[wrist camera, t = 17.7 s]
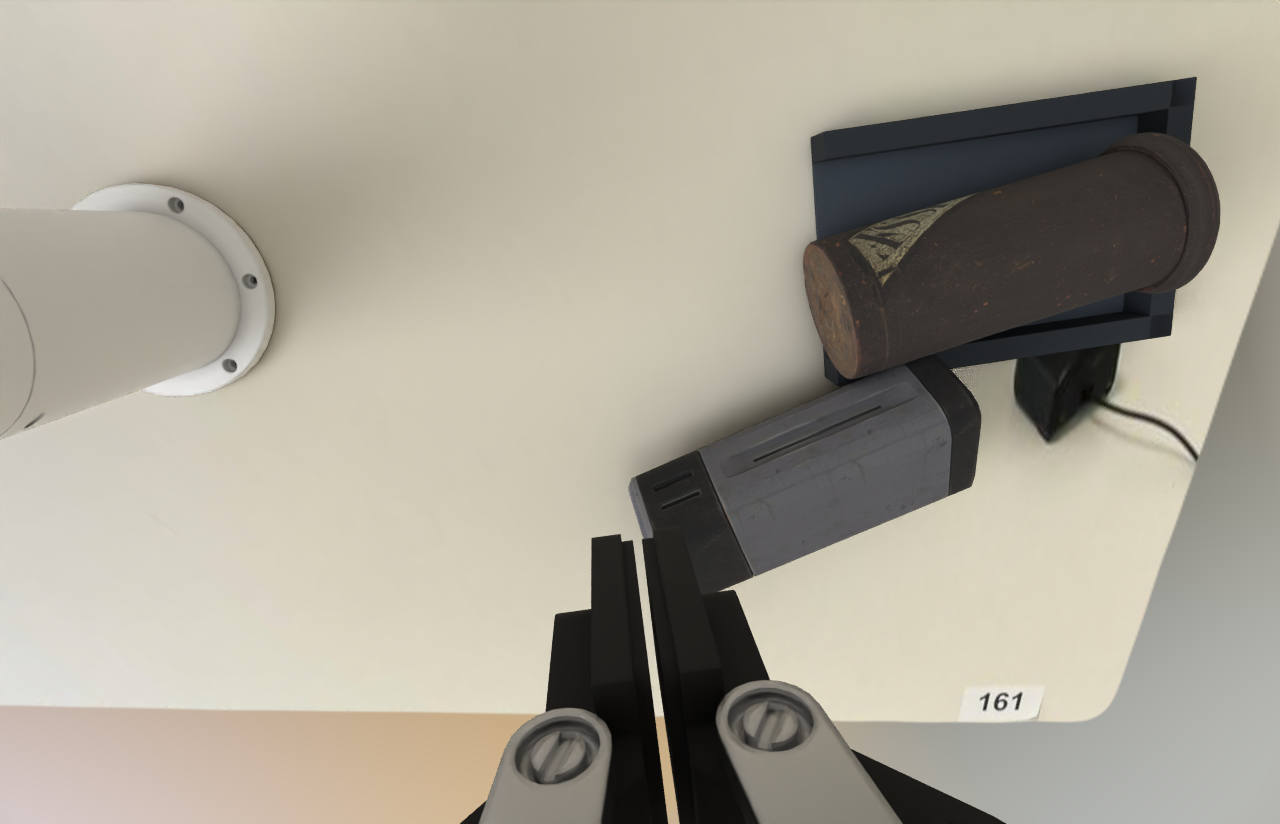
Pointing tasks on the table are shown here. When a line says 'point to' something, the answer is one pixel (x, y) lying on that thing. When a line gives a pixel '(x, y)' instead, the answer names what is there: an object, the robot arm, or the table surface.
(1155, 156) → the container
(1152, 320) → the tray
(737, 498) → the electronic device
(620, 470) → the table surface
